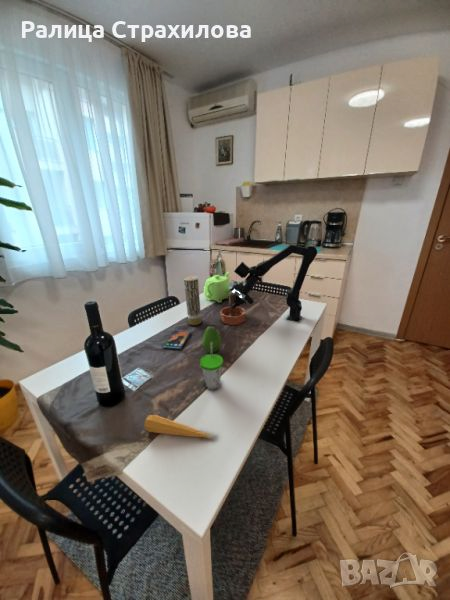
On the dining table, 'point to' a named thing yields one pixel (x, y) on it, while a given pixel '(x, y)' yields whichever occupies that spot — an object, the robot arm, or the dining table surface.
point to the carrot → (170, 427)
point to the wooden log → (192, 300)
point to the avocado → (211, 339)
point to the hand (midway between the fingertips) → (230, 306)
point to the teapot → (217, 288)
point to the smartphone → (177, 339)
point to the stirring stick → (232, 299)
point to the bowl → (234, 319)
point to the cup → (211, 369)
